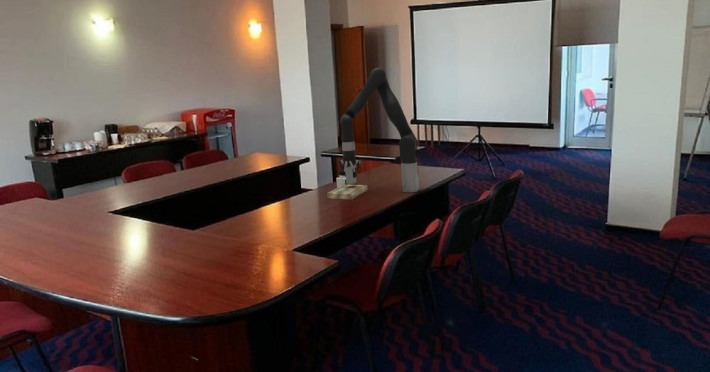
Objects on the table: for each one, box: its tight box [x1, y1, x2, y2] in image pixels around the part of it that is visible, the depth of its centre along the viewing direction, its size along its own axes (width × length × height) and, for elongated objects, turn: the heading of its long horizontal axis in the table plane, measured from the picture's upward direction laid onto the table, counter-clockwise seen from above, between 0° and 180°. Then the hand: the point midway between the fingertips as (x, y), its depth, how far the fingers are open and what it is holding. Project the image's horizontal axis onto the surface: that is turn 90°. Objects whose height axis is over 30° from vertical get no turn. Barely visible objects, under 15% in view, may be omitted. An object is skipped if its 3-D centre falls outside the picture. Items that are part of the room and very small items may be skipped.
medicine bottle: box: [336, 169, 354, 188], centre depth 350 cm, size 7×7×12 cm
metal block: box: [344, 166, 357, 185], centre depth 335 cm, size 5×5×10 cm
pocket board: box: [326, 184, 369, 200], centre depth 332 cm, size 16×22×4 cm
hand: (351, 177), depth 335 cm, fingers closed on metal block, 4 cm apart
